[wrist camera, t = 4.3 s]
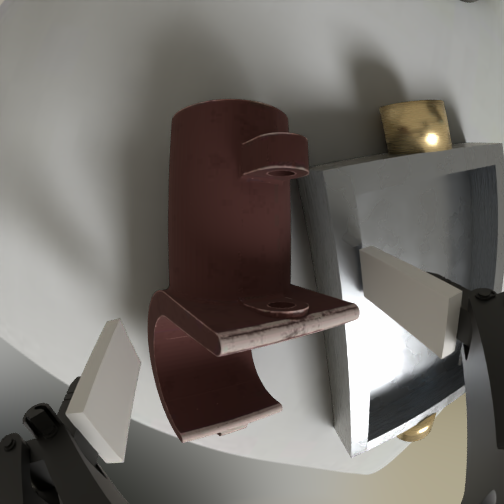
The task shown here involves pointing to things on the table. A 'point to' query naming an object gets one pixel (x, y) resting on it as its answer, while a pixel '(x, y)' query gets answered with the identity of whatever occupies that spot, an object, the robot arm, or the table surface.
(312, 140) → the table surface
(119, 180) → the table surface
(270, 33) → the table surface
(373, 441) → the cradle
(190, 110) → the bracket
